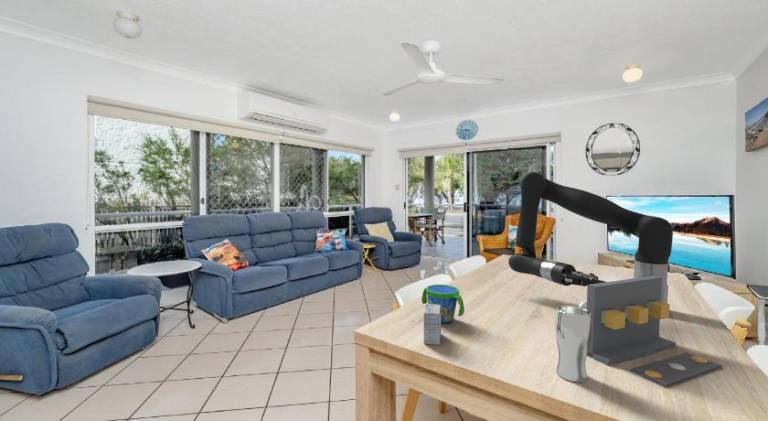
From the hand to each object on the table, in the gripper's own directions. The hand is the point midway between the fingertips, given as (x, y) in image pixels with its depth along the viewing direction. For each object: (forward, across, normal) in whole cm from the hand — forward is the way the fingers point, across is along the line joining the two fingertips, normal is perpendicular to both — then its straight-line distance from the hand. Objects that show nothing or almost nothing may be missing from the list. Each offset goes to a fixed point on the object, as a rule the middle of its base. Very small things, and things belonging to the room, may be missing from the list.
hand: (605, 285), depth 102 cm
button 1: (+11, -18, +5) cm, 21 cm away
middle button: (+11, -9, +5) cm, 15 cm away
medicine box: (-12, -54, +14) cm, 57 cm away
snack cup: (-23, -44, +14) cm, 51 cm away
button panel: (+11, -8, +13) cm, 19 cm away
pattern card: (+23, -9, +13) cm, 28 cm away
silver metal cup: (+16, -34, +13) cm, 40 cm away
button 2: (+11, 0, +5) cm, 12 cm away
